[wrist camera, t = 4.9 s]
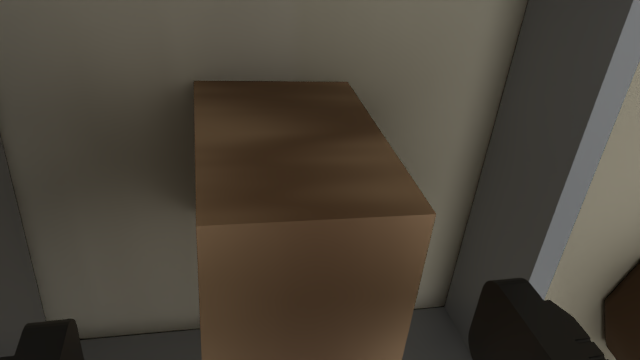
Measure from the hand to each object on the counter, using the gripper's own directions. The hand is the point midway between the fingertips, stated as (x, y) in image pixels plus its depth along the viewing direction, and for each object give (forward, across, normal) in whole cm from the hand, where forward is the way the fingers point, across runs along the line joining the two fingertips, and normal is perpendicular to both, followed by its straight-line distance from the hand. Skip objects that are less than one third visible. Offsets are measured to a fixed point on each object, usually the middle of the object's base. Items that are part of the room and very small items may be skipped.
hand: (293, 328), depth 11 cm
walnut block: (+7, 0, 0) cm, 7 cm away
